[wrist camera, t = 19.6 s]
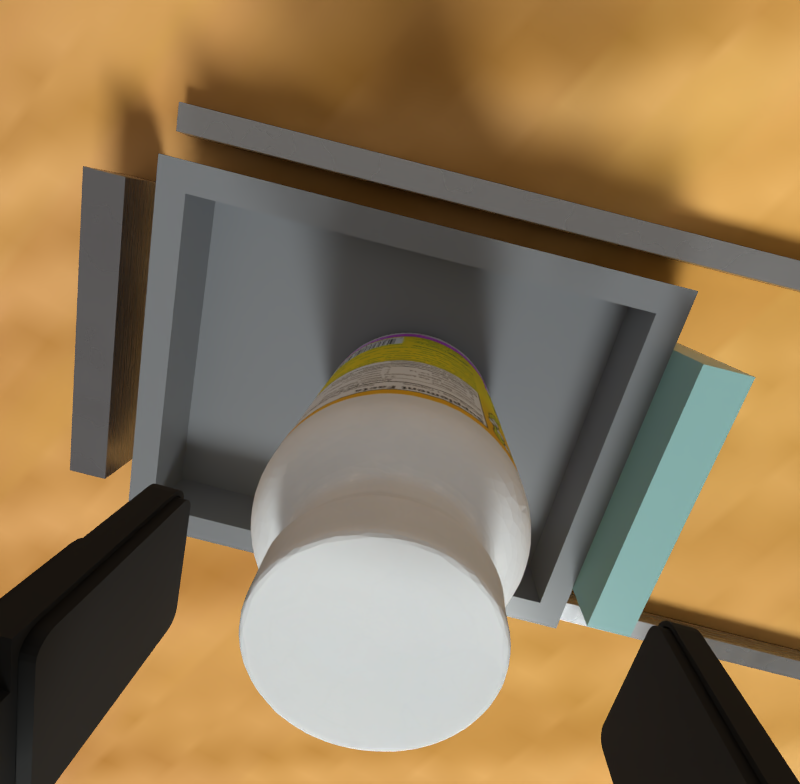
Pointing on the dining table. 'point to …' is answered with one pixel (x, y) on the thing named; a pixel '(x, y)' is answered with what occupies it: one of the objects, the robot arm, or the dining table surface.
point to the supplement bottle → (387, 552)
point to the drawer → (444, 319)
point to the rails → (134, 197)
